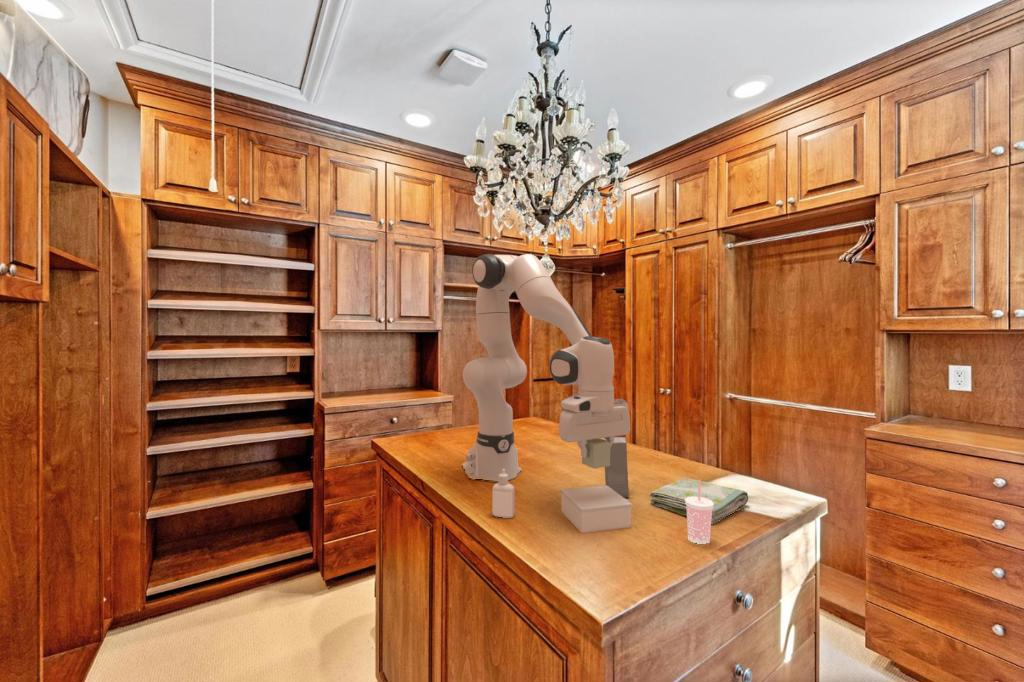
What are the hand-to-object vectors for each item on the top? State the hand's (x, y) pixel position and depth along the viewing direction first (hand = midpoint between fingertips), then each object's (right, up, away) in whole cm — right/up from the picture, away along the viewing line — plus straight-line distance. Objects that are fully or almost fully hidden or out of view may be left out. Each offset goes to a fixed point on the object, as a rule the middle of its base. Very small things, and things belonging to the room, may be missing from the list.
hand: (595, 455), depth 113 cm
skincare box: (+10, -16, +19) cm, 27 cm away
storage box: (0, -17, 0) cm, 17 cm away
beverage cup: (+22, -17, -11) cm, 29 cm away
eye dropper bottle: (-23, -16, +2) cm, 28 cm away
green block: (0, -2, 0) cm, 2 cm away
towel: (+30, -17, +10) cm, 36 cm away
